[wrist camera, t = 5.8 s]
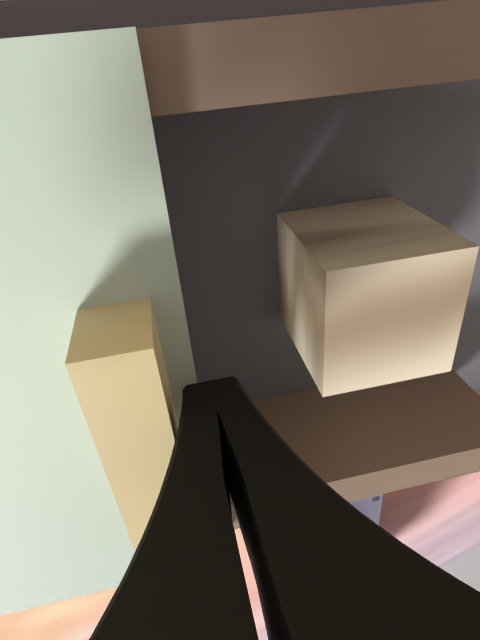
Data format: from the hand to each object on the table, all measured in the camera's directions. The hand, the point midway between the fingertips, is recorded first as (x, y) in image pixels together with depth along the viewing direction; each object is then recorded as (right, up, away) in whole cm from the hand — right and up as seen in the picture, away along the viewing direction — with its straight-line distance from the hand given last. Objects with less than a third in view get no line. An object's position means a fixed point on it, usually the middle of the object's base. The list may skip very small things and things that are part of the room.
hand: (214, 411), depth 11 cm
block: (+4, +5, +7) cm, 9 cm away
